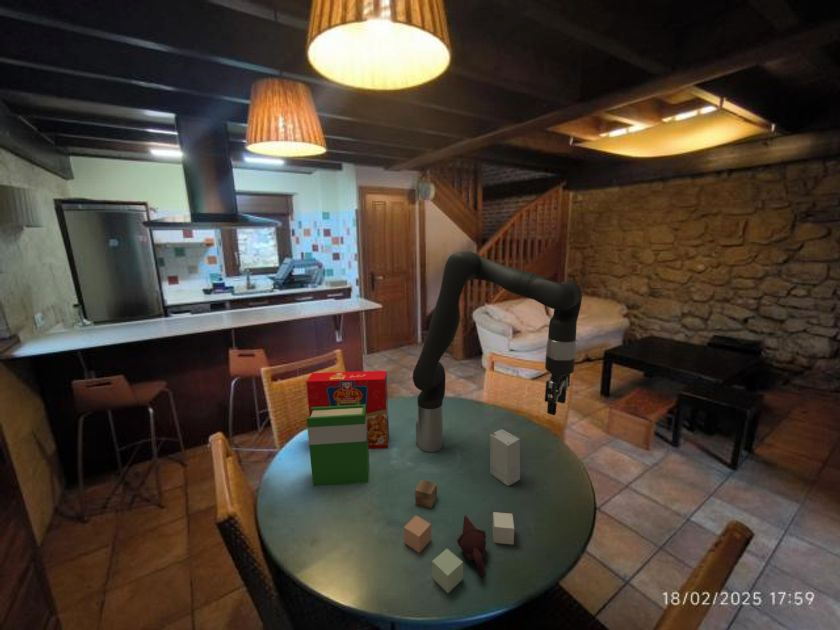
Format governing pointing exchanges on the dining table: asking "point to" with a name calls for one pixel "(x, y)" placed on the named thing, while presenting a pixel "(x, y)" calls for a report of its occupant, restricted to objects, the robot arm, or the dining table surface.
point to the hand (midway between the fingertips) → (556, 408)
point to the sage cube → (447, 570)
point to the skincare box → (505, 457)
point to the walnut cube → (426, 494)
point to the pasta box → (355, 398)
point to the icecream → (473, 544)
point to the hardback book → (338, 445)
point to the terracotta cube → (417, 533)
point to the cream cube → (503, 528)
